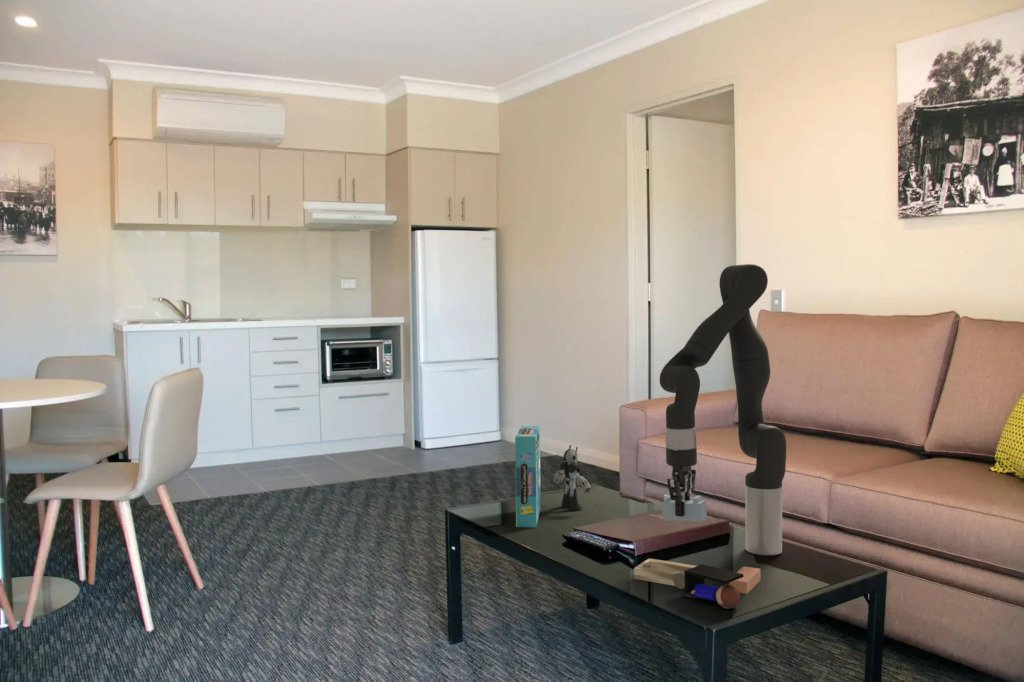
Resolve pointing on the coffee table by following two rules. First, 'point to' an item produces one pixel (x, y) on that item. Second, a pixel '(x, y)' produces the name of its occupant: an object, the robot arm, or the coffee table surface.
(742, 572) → the orange rectangular block
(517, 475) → the game box
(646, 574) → the cradle
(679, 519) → the grey toy brick
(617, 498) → the coffee table surface
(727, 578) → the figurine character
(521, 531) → the coffee table surface
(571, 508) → the robot
